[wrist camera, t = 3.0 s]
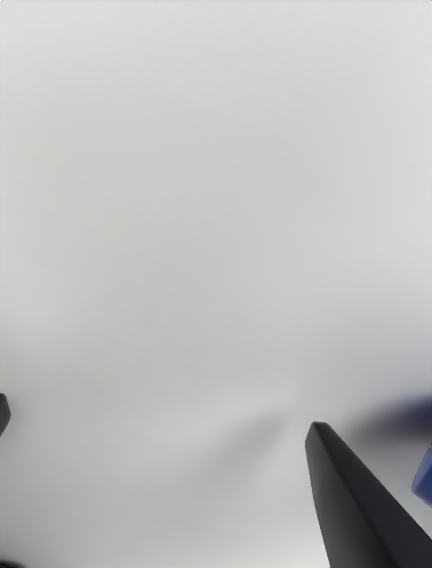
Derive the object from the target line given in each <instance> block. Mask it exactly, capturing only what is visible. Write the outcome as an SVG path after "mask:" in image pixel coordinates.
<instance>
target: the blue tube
mask: <svg viewBox="0 0 432 568" xmlns="http://www.w3.org/2000/svg"><path fill="white" fill-rule="evenodd" d="M411 491H412V492H413V493H414V494H415V495H416V496H417V497H419V498H420V499H421V500H423V501H424V502H425V503H426V504H428V505H429V506H430V507H432V443H431V445H430V447H429V448H428V450H427V452H426V454H425V456H424V458H423V460H422V462H421V464H420V466H419V468H418V470H417V472H416V475H415V477H414V480H413V483H412V486H411Z"/></svg>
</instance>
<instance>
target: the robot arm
mask: <svg viewBox="0 0 432 568" xmlns="http://www.w3.org/2000/svg"><path fill="white" fill-rule="evenodd" d="M10 416H11V413H10V409H9V405H8V402H7V398H6V396H5V395H4V394H2V393H0V437H1V435H2V433H3V432H4V430H5V428H6V426H7V424H8V422H9V420H10ZM305 448H306V455H307V461H308V467H309V473H310V480H311V486H312V492H313V498H314V504H315V508H316V513H317V517H318V521H319V525H320V529H321V533H322V536H323V540H324V544H325V548H326V552H327V556H328V560H329V564H330V568H432V539H431V538H430V537H429V536H428V535H427V534H426V533H425V532H424V530H423V529H422V528H421V527H420V526H419V525H418V524H417V523H416V522H415V520H414V519H413V518H412V517H411V516H410V515H409V514H408V513H407V511H406V510H405V509H404V508H403V507H402V506H401V505H400V504H399V503H398V501H397V500H396V499H395V498H394V497H393V496H392V495H391V494H390V493H389V491H388V490H387V489H386V488H385V487H384V486H383V485H382V484H381V483H380V481H379V480H378V479H377V478H376V477H375V476H374V475H373V474H372V472H371V471H370V470H369V469H368V468H367V467H366V466H365V465H364V464H363V462H362V461H361V460H360V459H359V458H358V457H357V456H356V455H355V454H354V452H353V451H352V450H351V449H350V448H349V447H348V446H347V445H346V444H345V442H344V441H343V440H342V439H341V438H340V437H339V436H338V435H337V433H336V432H335V431H334V430H333V429H332V428H331V427H330V426H329V425H328V424H327V423H324V422H313V423H312V424H311V426H310V429H309V432H308V434H307V437H306V441H305ZM0 568H13V567H3V566H0Z"/></svg>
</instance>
